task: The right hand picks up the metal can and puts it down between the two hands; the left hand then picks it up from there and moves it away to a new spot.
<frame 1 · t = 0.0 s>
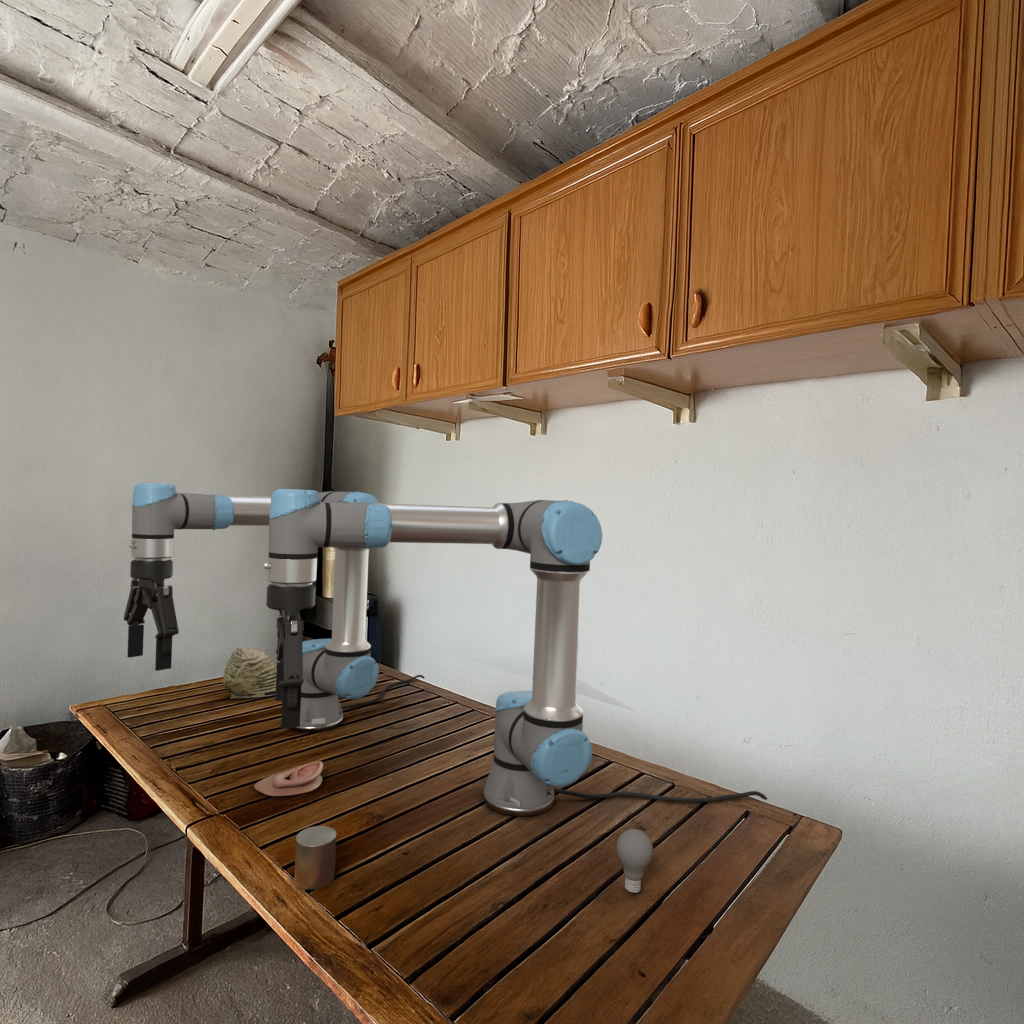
left hand: (148, 662, 129), 28 cm above the table, tool pointing down, fingers open, 13 cm apart
right hand: (286, 712, 104), 28 cm above the table, tool pointing down, fingers open, 13 cm apart
can: (314, 878, 106), on the table
fossil: (254, 694, 198), on the table
anatomical model: (288, 785, 138), on the table
light bulb: (632, 891, 106), on the table
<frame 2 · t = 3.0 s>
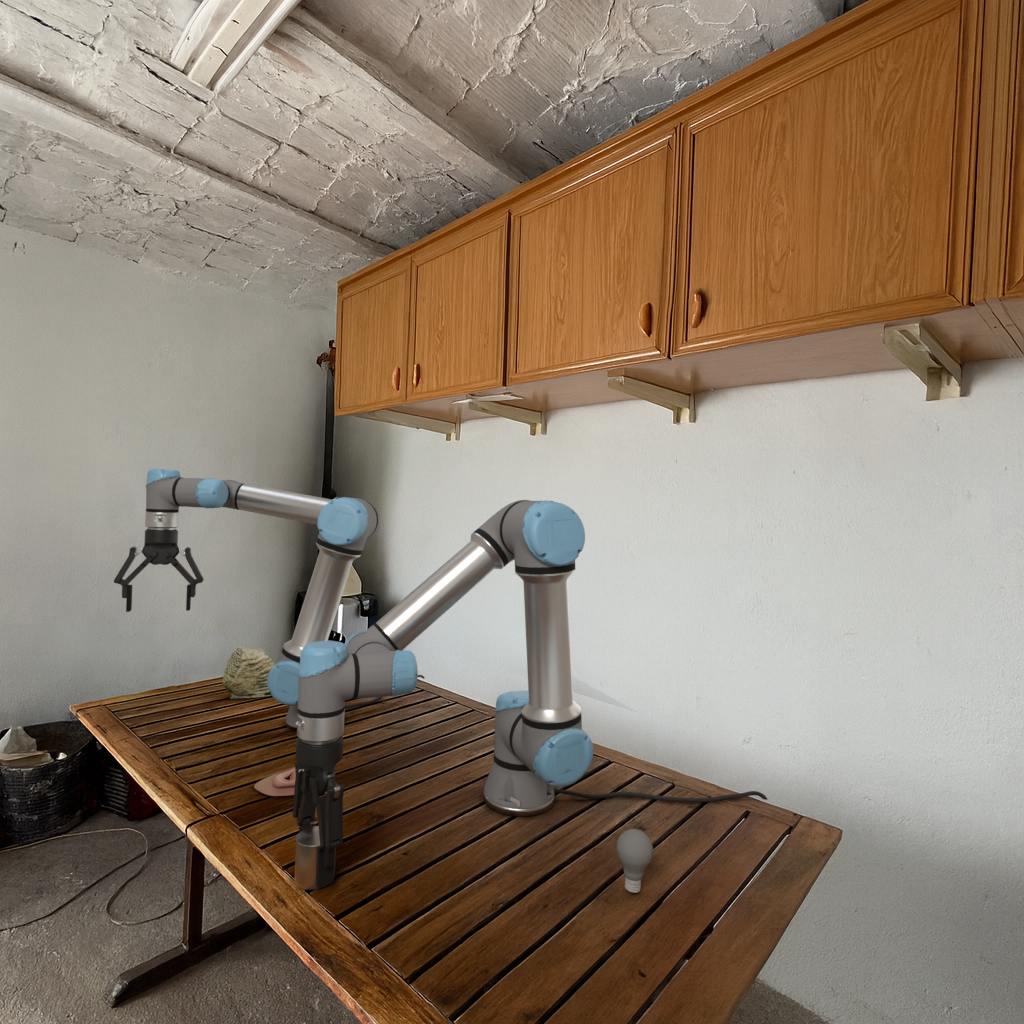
left hand: (158, 610, 164), 32 cm above the table, tool pointing down, fingers open, 13 cm apart
right hand: (315, 873, 106), 1 cm above the table, tool pointing down, fingers closed on can, 6 cm apart
can: (314, 878, 106), on the table, touching right hand
everything else where it was.
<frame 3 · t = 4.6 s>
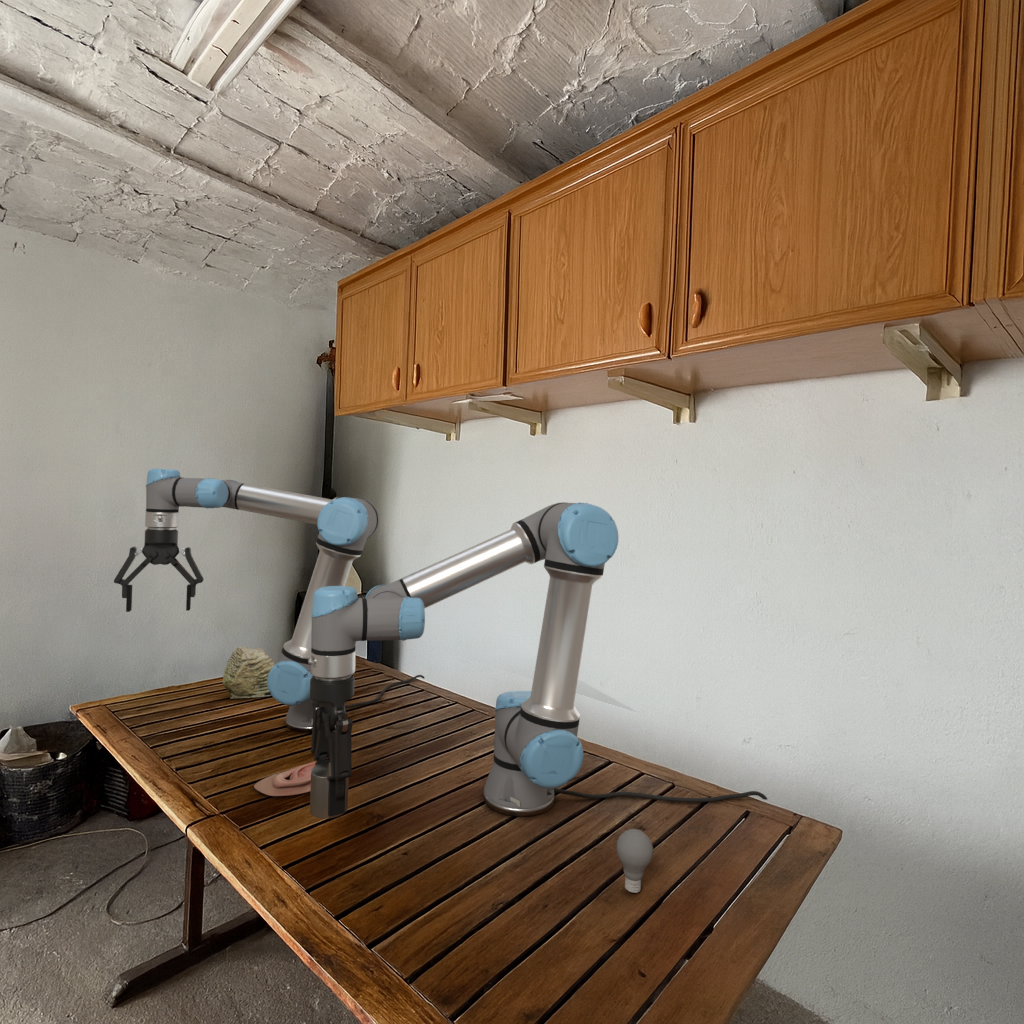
left hand: (158, 610, 164), 32 cm above the table, tool pointing down, fingers open, 13 cm apart
right hand: (329, 805, 111), 9 cm above the table, tool pointing down, fingers closed on can, 6 cm apart
can: (328, 809, 111), point 9 cm above the table, touching right hand
everything else where it was.
when the right hand's fingers open (2 cm above the table, at t = 6.4 s): can drops 2 cm, on the table.
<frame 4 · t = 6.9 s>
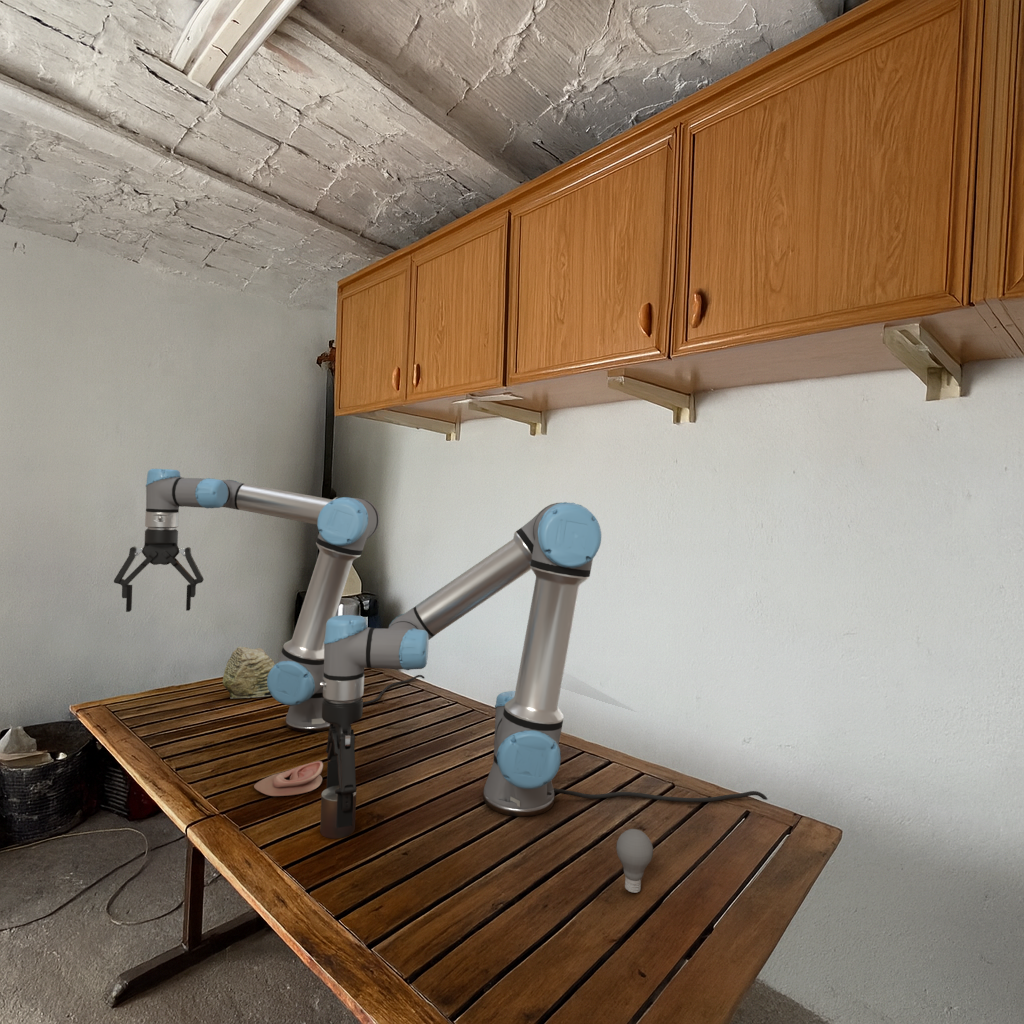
left hand: (158, 610, 164), 32 cm above the table, tool pointing down, fingers open, 13 cm apart
right hand: (338, 809, 121), 4 cm above the table, tool pointing down, fingers open, 13 cm apart
can: (337, 829, 121), on the table
everything else where it was.
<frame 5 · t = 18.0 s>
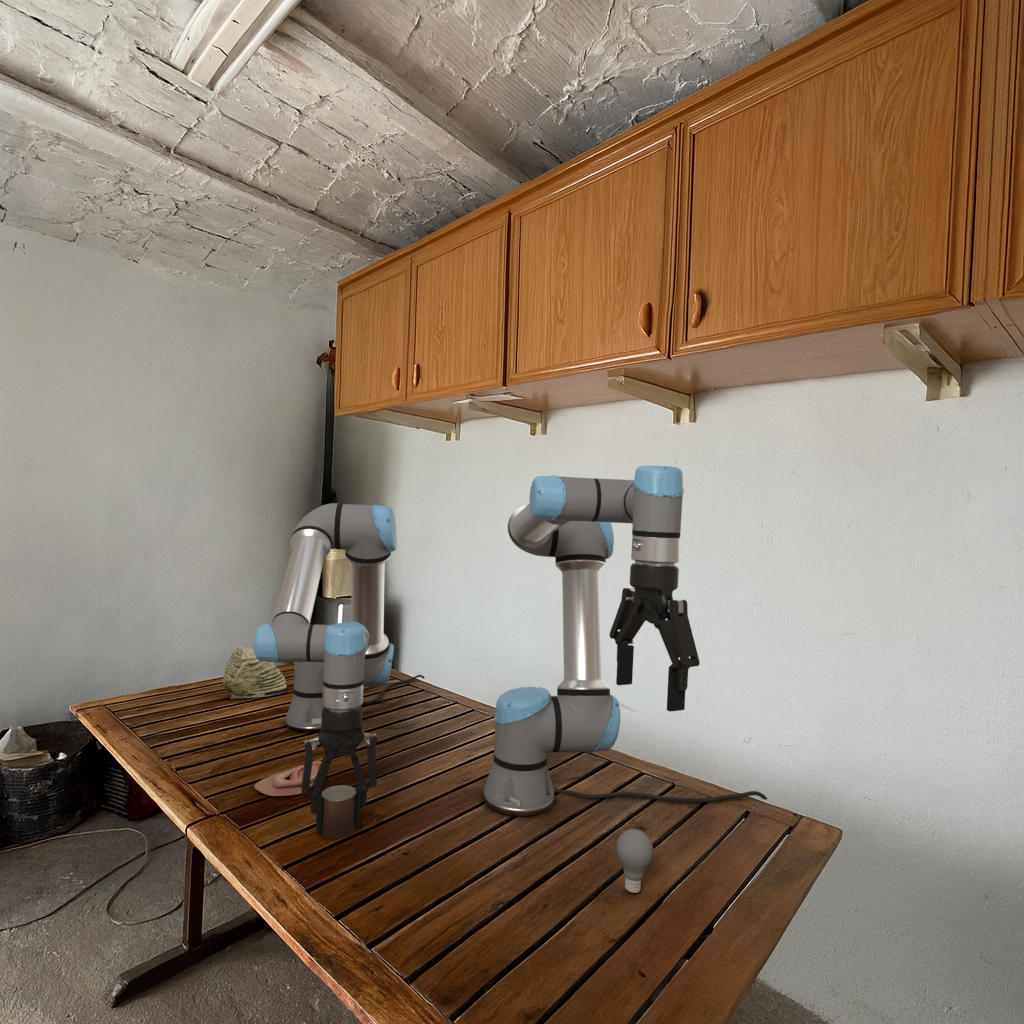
left hand: (337, 825, 121), 1 cm above the table, tool pointing down, fingers closed on can, 6 cm apart
right hand: (648, 696, 101), 34 cm above the table, tool pointing down, fingers open, 13 cm apart
can: (337, 829, 121), on the table, touching left hand
everything else where it was.
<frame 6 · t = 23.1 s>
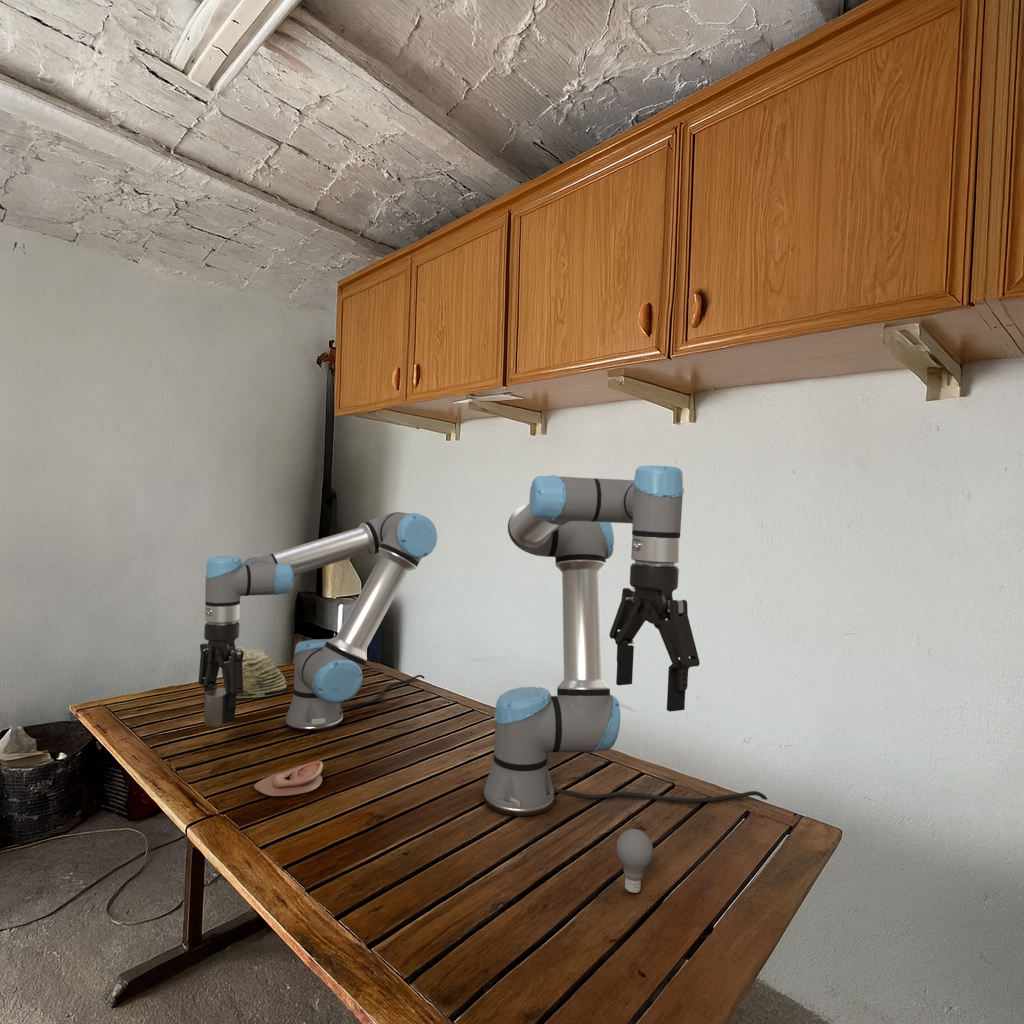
left hand: (219, 718, 150), 10 cm above the table, tool pointing down, fingers closed on can, 6 cm apart
right hand: (648, 696, 101), 34 cm above the table, tool pointing down, fingers open, 13 cm apart
can: (219, 721, 150), point 9 cm above the table, touching left hand
everything else where it was.
when the left hand's fingers open (2 cm above the table, at t = 28.5 s): can drops 2 cm, on the table.
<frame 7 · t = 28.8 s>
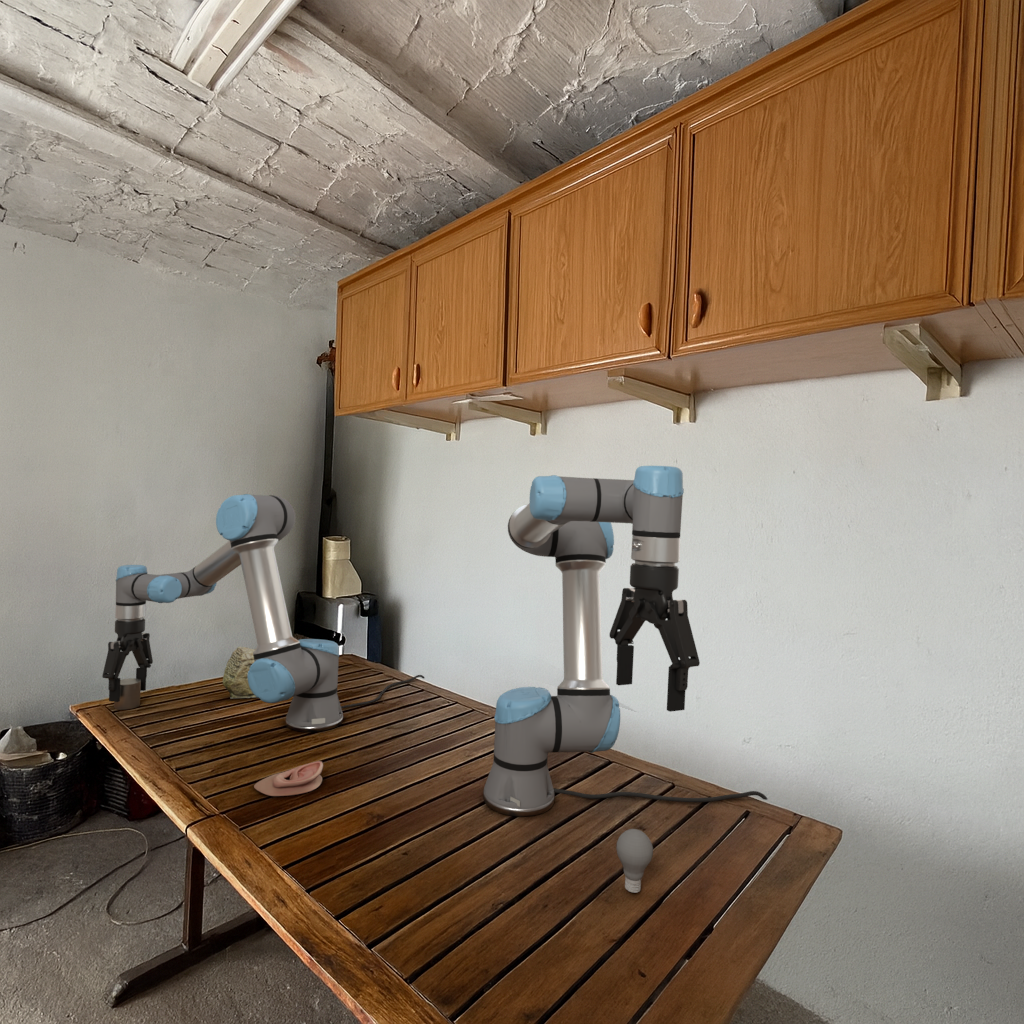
left hand: (127, 695, 183), 3 cm above the table, tool pointing down, fingers open, 10 cm apart
right hand: (648, 696, 101), 34 cm above the table, tool pointing down, fingers open, 13 cm apart
can: (127, 705, 183), on the table
everything else where it was.
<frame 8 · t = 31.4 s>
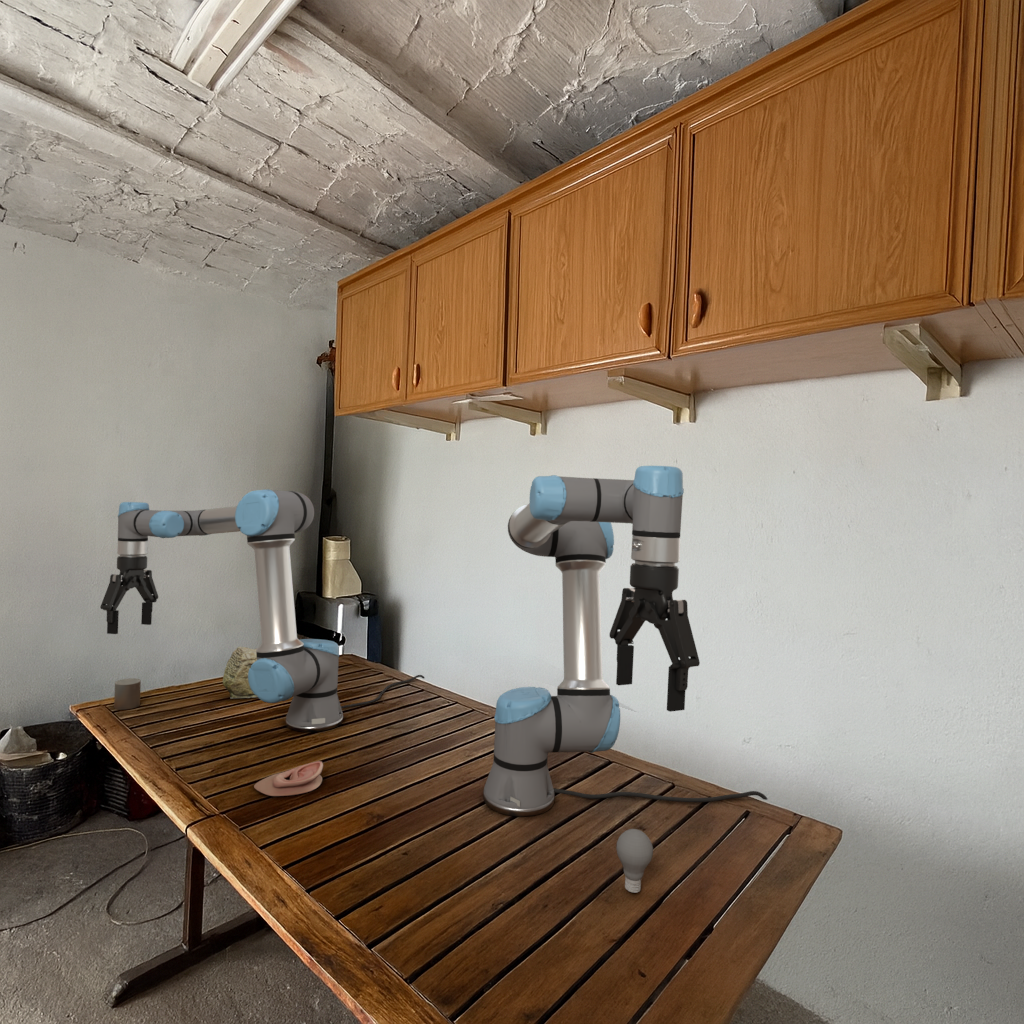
left hand: (130, 629, 183), 22 cm above the table, tool pointing down, fingers open, 13 cm apart
right hand: (648, 696, 101), 34 cm above the table, tool pointing down, fingers open, 13 cm apart
nothing on the table moved.
at the end: can inside the target area (0.1 cm from its centre), on the table; can tilted 0°; the two hands never held the can at the same time; the left hand is holding nothing; the right hand is holding nothing; can at rest at the end (0.0 cm/s) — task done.
